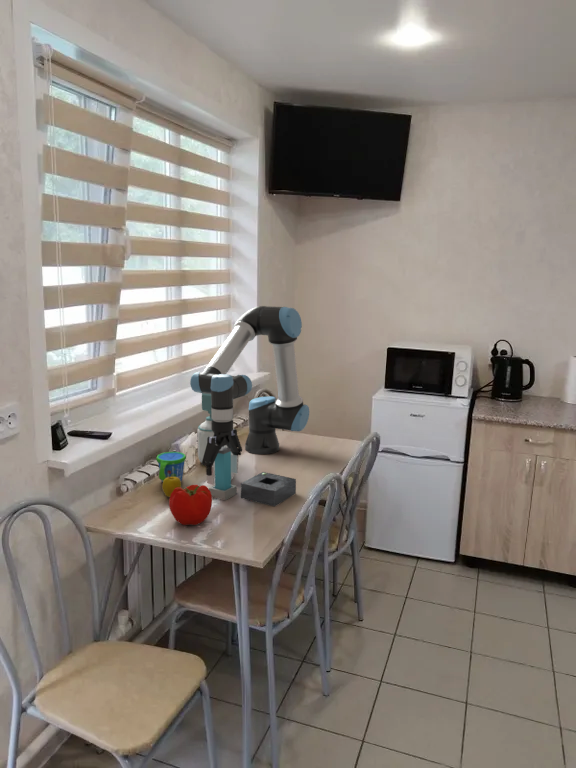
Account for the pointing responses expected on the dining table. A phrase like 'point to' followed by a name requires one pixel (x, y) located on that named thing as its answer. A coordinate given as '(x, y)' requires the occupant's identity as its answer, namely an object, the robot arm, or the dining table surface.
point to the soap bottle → (204, 427)
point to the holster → (223, 492)
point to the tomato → (190, 504)
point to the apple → (170, 485)
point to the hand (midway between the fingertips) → (222, 478)
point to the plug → (223, 469)
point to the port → (268, 488)
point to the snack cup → (171, 465)
